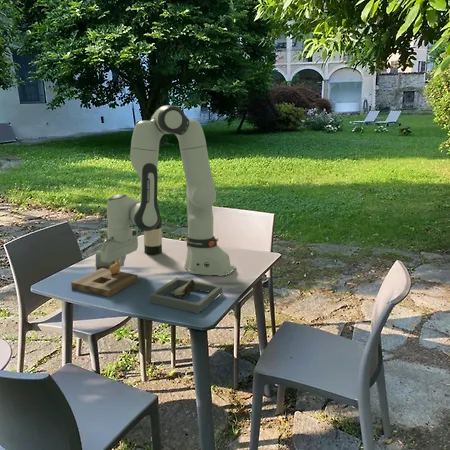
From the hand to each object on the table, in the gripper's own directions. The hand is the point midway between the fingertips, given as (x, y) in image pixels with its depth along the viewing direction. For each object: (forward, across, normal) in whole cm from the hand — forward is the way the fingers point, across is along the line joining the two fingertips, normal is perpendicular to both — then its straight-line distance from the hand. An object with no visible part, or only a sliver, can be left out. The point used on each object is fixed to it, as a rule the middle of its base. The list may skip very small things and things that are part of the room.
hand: (120, 266), depth 184 cm
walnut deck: (+4, -10, 0) cm, 11 cm away
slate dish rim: (+4, -7, -35) cm, 36 cm away
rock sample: (+4, -6, -32) cm, 33 cm away
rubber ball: (0, -4, 0) cm, 4 cm away
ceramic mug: (+4, +7, +14) cm, 16 cm away
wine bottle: (+4, +33, +6) cm, 34 cm away
